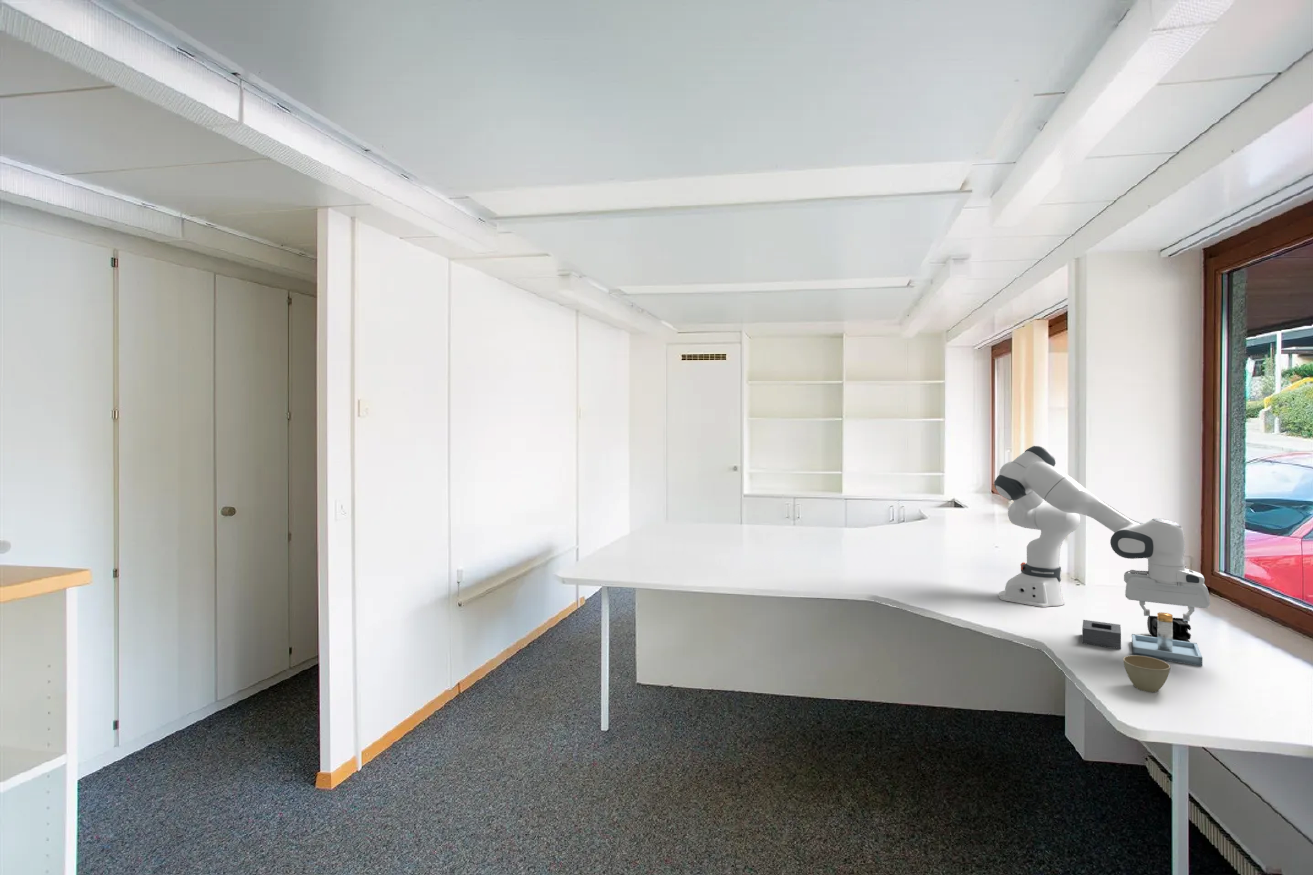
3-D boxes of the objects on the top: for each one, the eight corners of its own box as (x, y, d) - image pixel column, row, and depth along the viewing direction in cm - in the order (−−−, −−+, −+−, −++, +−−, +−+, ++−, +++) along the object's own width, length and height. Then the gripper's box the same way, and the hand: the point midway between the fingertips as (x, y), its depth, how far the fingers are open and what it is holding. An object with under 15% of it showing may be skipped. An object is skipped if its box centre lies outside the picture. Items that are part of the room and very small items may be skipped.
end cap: (1184, 636, 210) (1184, 616, 210) (1192, 643, 203) (1192, 622, 203) (1147, 633, 214) (1147, 613, 214) (1153, 640, 207) (1153, 619, 207)
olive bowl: (1113, 682, 176) (1113, 656, 176) (1147, 679, 177) (1147, 654, 176) (1144, 697, 166) (1144, 670, 166) (1180, 695, 167) (1180, 668, 167)
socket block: (1082, 643, 205) (1082, 627, 205) (1083, 634, 213) (1083, 619, 213) (1120, 649, 200) (1120, 633, 199) (1120, 639, 208) (1120, 624, 208)
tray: (1133, 655, 195) (1133, 647, 194) (1131, 641, 206) (1131, 633, 206) (1202, 666, 185) (1202, 657, 185) (1196, 651, 197) (1196, 643, 197)
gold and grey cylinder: (1157, 650, 195) (1157, 614, 195) (1157, 647, 198) (1157, 611, 198) (1173, 652, 193) (1173, 616, 193) (1172, 649, 196) (1172, 613, 196)
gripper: (1124, 571, 198) (1124, 615, 199) (1211, 579, 187) (1211, 626, 187) (1123, 566, 204) (1123, 610, 204) (1208, 574, 192) (1208, 620, 192)
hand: (1166, 617), depth 196 cm, fingers open, 8 cm apart
